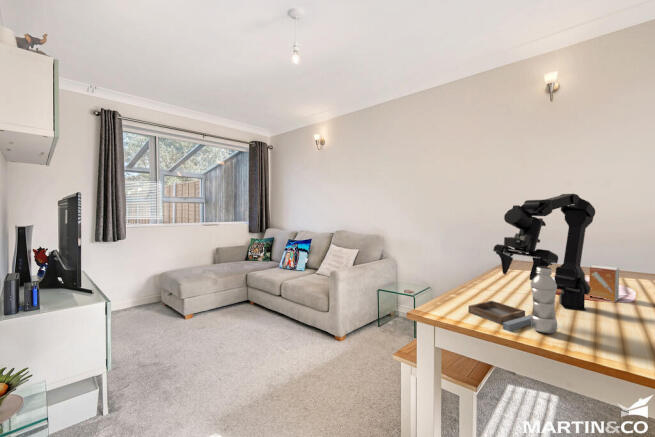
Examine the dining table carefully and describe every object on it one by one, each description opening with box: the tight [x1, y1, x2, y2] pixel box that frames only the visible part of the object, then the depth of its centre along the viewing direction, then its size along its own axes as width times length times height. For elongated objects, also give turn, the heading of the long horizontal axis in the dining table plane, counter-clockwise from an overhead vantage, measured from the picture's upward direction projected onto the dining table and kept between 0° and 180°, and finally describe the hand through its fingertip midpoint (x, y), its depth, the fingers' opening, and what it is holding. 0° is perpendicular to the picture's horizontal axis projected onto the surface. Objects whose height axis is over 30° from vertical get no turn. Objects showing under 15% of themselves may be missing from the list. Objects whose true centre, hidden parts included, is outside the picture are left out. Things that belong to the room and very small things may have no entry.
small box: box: [588, 264, 620, 303], centre depth 119 cm, size 8×6×13 cm
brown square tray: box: [467, 300, 526, 325], centre depth 103 cm, size 13×13×2 cm
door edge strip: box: [502, 314, 532, 332], centre depth 94 cm, size 18×2×2 cm, turn 114°
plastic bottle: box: [530, 266, 558, 334], centre depth 88 cm, size 6×7×20 cm
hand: (516, 277), depth 97 cm, fingers open, 9 cm apart
